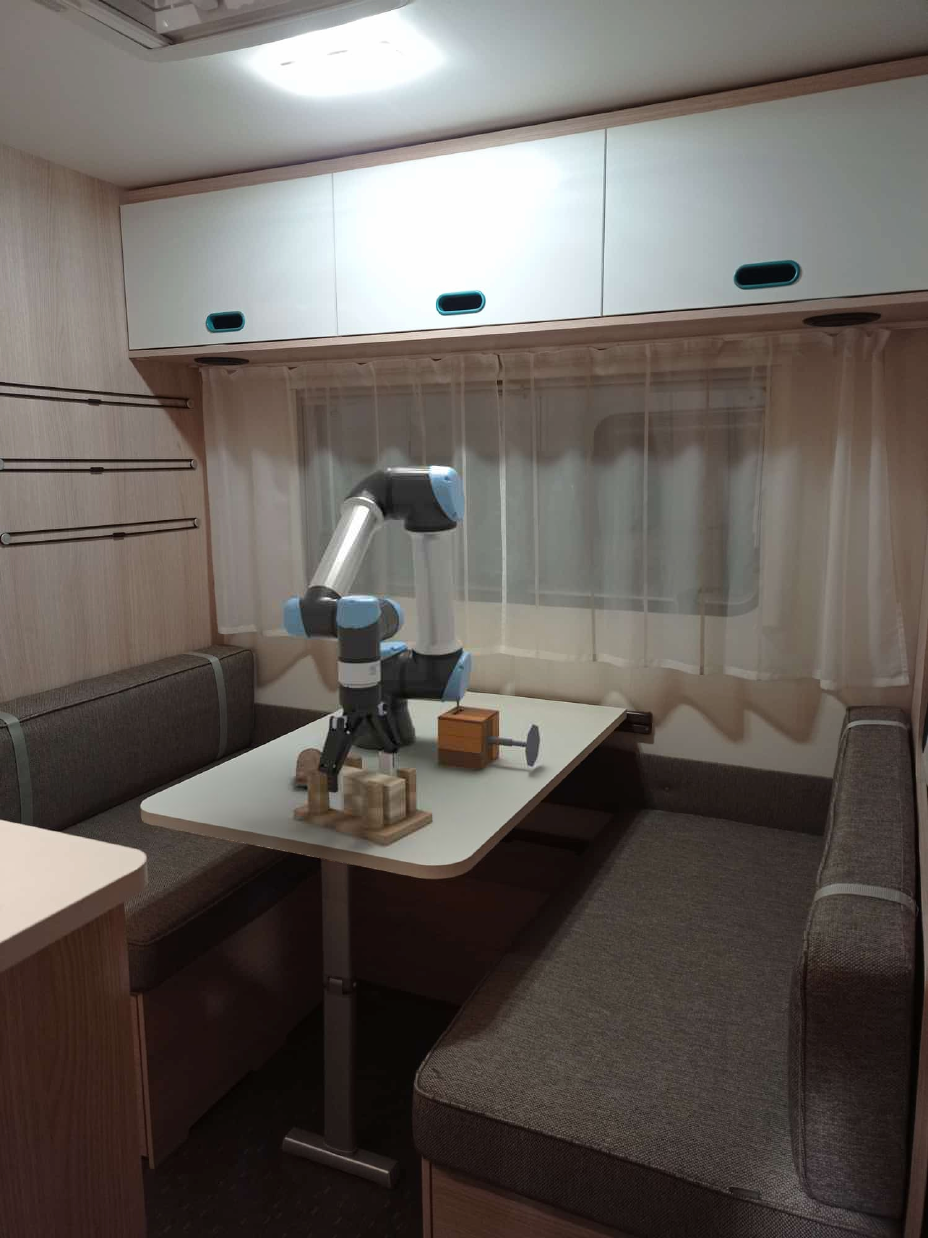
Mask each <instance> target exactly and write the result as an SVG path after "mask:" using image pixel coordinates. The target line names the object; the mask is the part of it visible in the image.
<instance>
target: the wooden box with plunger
mask: <svg viewBox="0 0 928 1238" xmlns="http://www.w3.org/2000/svg"><path fill="white" fill-rule="evenodd" d="M460 702H461V700H460V696H457V697H456V706H455V707H452V708H451V709H450V710H448V711H446V712H443V713H442V714H440V715H438V716H437V765H440V766H445V767H453V768H459V769H460V768H461V769H465V770H466V769H468V770H475V771H482V770H483V769H484V768H486V767H487V766H488V765H490V764H491V763H493V762H494V761H495V760H496V759H498V758H499V757H500V746H503V747H513V746H514V747H518V748H519V747H521V748H525V750H524V751H525V760H526V765H527V766H528V767H531V768H533V767H534V765H535V763H536V761H537V759H538V756H539V750H540V742H541V737H540V736H541V735H540V729H539V726H538V725H535V724H534V723H533V724H532V725H531V727H530V729H529V731H528V733H527V737H526V741H522V740H521V741H520V740H513V739H512V738H508V737H507V738H506V737H505V738H504V737H500V709H489V708H483V707H474V706H467V705H466V706H464V705H460Z"/></svg>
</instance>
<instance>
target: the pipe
mask: <svg viewBox="0 0 928 1238" xmlns="http://www.w3.org/2000/svg"><path fill="white" fill-rule="evenodd" d="M321 755H322V751H320V750H319V749H317V748H313V747H312V748H311V747H310V748H305V749H303V750H302V751H301V752H300V753H299V754H298V756H297V760H296V767H295V779H294V784H295V785H296V786H298V787H304V788H308V781H307V770H308V769H311V768H314V767H317V768H318V765H319V761H320V758H321Z"/></svg>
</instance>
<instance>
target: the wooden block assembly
mask: <svg viewBox="0 0 928 1238" xmlns="http://www.w3.org/2000/svg"><path fill="white" fill-rule="evenodd" d="M343 765H345V766H349V767H354V768H358V769H362V770H363V757H362V756H360V755H356V754H350V753H348V755H347V757H346V760H345V762H344V764H343ZM317 769H318V768H317V767H314V768H311V769H308V770H307V781H308V787H307V803H306V804H305V805H302V806H300V807H298V808H296V809H295V808H294V809H293V818H294V819H297V820H300V821H304V822H307V823H310V824H313V825H317V826H320V827H321V826H322V827H324V828H328V829H331V830H334V831H338V832H341V833H345V834H348V835H352V836H355V837H359V838H362V839H366V840H369V841H372V842H375V843H378V844H382V845H386V846H388V845H389V844H391V843H393V842H395V841H397V840H398V839H401V838H403V837H405V836H407V835H408V834H411V833H413V832H414V831H416V830H418V829H420V828H422V827H424V826H426V825H428V824H429V823H432V822H433V812H429V811H425V810H421V809H417V807H418V806H417V805H418V804H417V803H418V802H417V800H418V799H417V768H414V767H409V766H406V765H405V766H404V765H403V766H400V767H397V768H396V769H395V772H396V773H395V777H397V778H402V779H405V795H406V817H404V818H402V819H400V820H398V821H397V822H395V823H393V824H391V825H389V824H385V823H383V783H379V782H375V781H370V780H369V781H366V782H364V783H362V817H359V816H355V815H352V814H348V813H344V812H340V811H337V810H333V809H329V808H328V789H327V774H326V773H322V772H318V770H317Z"/></svg>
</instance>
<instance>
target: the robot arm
mask: <svg viewBox="0 0 928 1238" xmlns="http://www.w3.org/2000/svg"><path fill="white" fill-rule="evenodd" d="M464 492H465V491H464V487H463V483H462V481H461V478H460V476H459V474H458V472H457V471H456V470H455V469H454V468H452V467H450V466H442V465H441V466H439V465H414V466H413V465H412V466H410V465H409V466H395V465H394V466H393V465H392V466H385V467H381V468H378V469H377V470H374V471H371V473H369V474H367V475H365V476H364V477H363V478H362V479H360V480H359V481H358V482H357V483H356V484H355V485H353V487H352V488H351V489H350V490H349V492H348V493H347V494H346V497H345V498H344V500H343V501H342V504H341V506H340V516H341V518H340V520H339V522H338V524H337V525H336V528H335V530H334V532H333V534H332V537H331V538H330V539H331V540H329V543H328V546H327V548H326V549H325V552H324V554H323V556H322V558H321V560H320V563H319V564H318V566H317V569H316V570H315V573H314V576H313V578H312V580H311V581H310V584H309V585H308V588H307V590H306V592H305V594H304V596H303V597H301V596H300V597H294V598H293V597H292V598H290V599H289V600H287V601H286V603H285V605H284V608H283V611H282V612H283V613H282V623H283V627H284V629H285V632H286V633H287V634H288V635H289V636H290V637H294V638H295V637H297V638H304V639H325V640H326V639H327V640H328V639H334V640H337V651H338V653H337V654H338V655H337V656H338V657H337V659H338V660H337V661H338V662H337V665H338V667H337V668H338V669H337V670H338V674H337V675H338V682H339V683H340V685H339V686H338V701H339V702H338V703H339V705H340V706H341V707H342V714H341V716H334V715H331V716H329V722H328V723H329V725H328V731H327V735H326V739H325V741H324V745H323V748H322V751H321V752H322V755H321V758H320V761H319V765H318V769H317V770H318V772H322V773H326V774H327V789H328V791H329V802H330V808H334V809H337V810H343V809H344V789H343V773H339V772H340V770H341V768H342V766H343V764H344V762H345V760H346V757H347V755H348V754H350V751H351V749H352V747H353V745H355V746H357V747H360V748H364V749H371V750H382V751H379V752H378V773H380V774H384V775H389V776H393V777H394V767H395V758H394V757H395V756H394V755H395V754H399V750H400V748H403V747H407V746H409V745H411V744H413V743H415V742H416V740H417V739H416V729H415V726H414V724H413V720H412V717H411V714H410V710H409V702H408V700H411V701H412V700H414V701H428V702H429V701H430V702H440V703H445V702H447V703H448V702H449V703H450V702H451V703H455V702H456V697H457V696H460V701H461V700H462V699H463V698H464V697H465V695H466V693H467V690H468V687H469V684H470V679H471V673H472V663H473V662H472V656H471V655H472V654H471V653H470V652H468V651H464V649H463V646H464V645H463V642H462V641H461V640H460V639H459V638H458V637H457V636H456V620H455V600H454V599H455V598H454V579H453V578H454V577H453V560H452V559H453V558H452V556H453V555H452V537H451V536H452V534H453V533H454V532H455V530H456V529H457V528H458V522H459V521H461V520H463V518H464V515H465V505H466V501H465V500H466V499H465V493H464ZM391 520H394V521H403V526H404V527H403V528H404V532H406V533H407V534H408V535H409V536H410V537H411V542H412V543H411V544H412V545H411V546H412V561H413V563H412V564H413V576H414V577H413V578H414V592H415V609H416V611H415V612H416V623H417V624H416V625H417V626H416V627H417V629H416V630H417V639H416V640H415V641H414V643H412V645H411V649H409V646H408V644H407V642H404V641H390V642H388V641H387V642H383V641H386V640H389V639H391V638H393V637H394V636H396V634H398V632H399V631H401V629H402V628H403V625H404V620H405V615H404V611H403V609H402V607H401V605H400V604H399V603H398V602H397V601H396V600H393V599H391V598H387V597H386V598H377V597H376V596H373V595H350V596H347V595H348V593H349V591H350V590H351V586H352V584H353V582H354V580H355V577H356V575H357V573H358V570H359V569H360V566H361V564H362V561H363V559H364V556H365V554H366V552H367V549H368V548H369V545H370V542H371V541H372V537H374V536H373V535H374V533H375V532H377V531H379V530H380V529H381V528H382V526H383V524H384V522H386V521H391ZM456 703H457V702H456ZM334 765H335V767H334Z"/></svg>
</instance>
